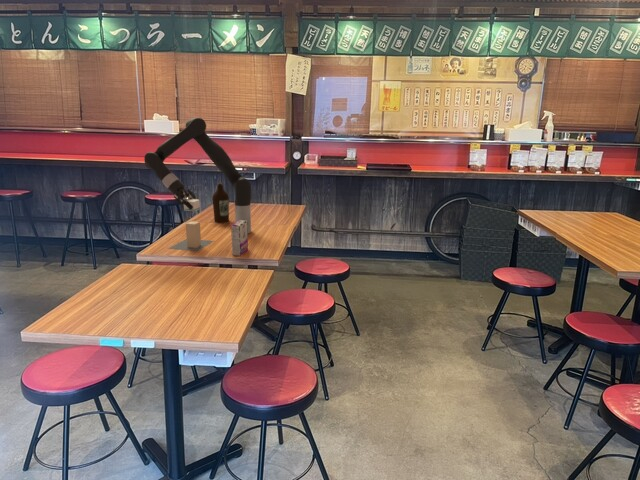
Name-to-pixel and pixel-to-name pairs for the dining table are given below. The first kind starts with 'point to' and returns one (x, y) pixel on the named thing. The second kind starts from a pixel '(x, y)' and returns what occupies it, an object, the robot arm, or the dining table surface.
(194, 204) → the carton lid
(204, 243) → the packing mat
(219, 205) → the olive oil
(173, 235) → the dining table surface
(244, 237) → the candy bar box
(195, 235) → the kraft carton
